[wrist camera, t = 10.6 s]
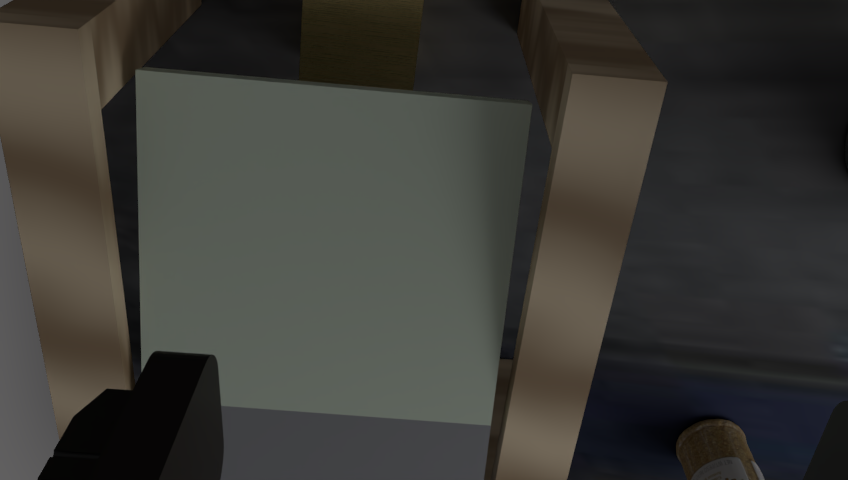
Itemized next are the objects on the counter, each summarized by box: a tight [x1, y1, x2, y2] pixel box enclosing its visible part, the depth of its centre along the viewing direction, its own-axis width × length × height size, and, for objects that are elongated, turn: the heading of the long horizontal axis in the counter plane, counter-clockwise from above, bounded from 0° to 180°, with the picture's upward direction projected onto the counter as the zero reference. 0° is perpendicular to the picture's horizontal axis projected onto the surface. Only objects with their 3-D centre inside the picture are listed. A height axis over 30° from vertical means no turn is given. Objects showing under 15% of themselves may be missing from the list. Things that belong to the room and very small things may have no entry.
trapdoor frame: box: [0, 0, 668, 480], centre depth 38 cm, size 26×21×14 cm
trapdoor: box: [135, 67, 532, 480], centre depth 33 cm, size 20×14×4 cm
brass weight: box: [299, 0, 424, 91], centre depth 37 cm, size 5×5×5 cm
